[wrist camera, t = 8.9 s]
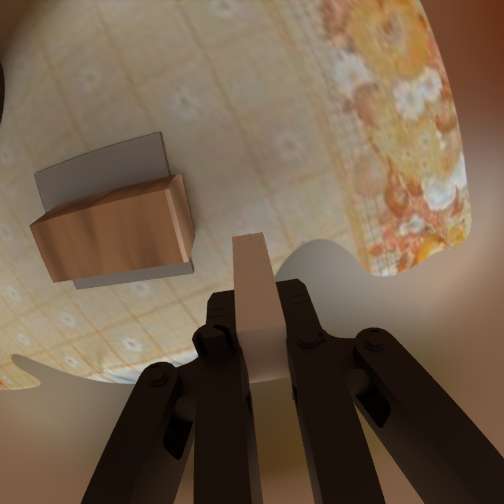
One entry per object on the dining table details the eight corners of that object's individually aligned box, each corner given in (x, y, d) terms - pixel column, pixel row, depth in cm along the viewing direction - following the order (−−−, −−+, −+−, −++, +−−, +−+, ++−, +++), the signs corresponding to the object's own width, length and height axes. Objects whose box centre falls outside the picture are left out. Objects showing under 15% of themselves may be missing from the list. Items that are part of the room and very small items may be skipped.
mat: (78, 286, 30) (76, 289, 29) (37, 172, 23) (33, 174, 23) (194, 269, 30) (193, 273, 29) (161, 132, 23) (159, 132, 23)
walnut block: (195, 235, 27) (74, 257, 27) (181, 173, 24) (55, 206, 25) (188, 261, 23) (53, 282, 23) (169, 188, 20) (29, 225, 20)
